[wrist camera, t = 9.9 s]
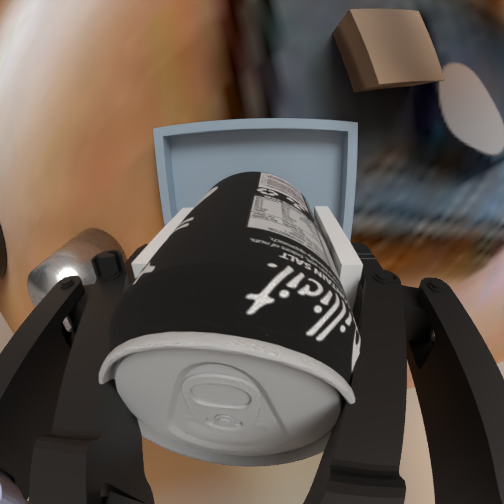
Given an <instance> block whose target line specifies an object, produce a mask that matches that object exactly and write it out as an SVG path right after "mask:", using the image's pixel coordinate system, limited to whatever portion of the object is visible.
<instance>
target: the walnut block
mask: <svg viewBox="0 0 504 504" xmlns="http://www.w3.org/2000/svg"><path fill="white" fill-rule="evenodd" d="M332 34H333V36H334V39H335V41H336V43H337V46H338V48H339V51H340V54H341V56H342V59H343V61H344V64H345V67H346V70H347V73H348V76H349V78H350V81H351V84H352V88H353V91H354V93H355V92H362V91H369V90H377V89H385V88H395V87H406V86H414V85H419V84H425V83H431V82H437V81H444V77H443V73H442V70H441V67H440V64H439V61H438V58H437V55H436V52H435V49H434V46H433V44H432V41H431V39H430V36H429V34H428V31H427V29H426V27H425V24H424V22H423V20H422V18H421V15H420V13H419V11H413V10H399V9H350V10H349V11H348V12H347V14H346V15H345V16H344V18H343V19H342V21H341V22H340V23H339V25H338V26H337V27H336V29H335V30H334V32H333V33H332Z"/></svg>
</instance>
